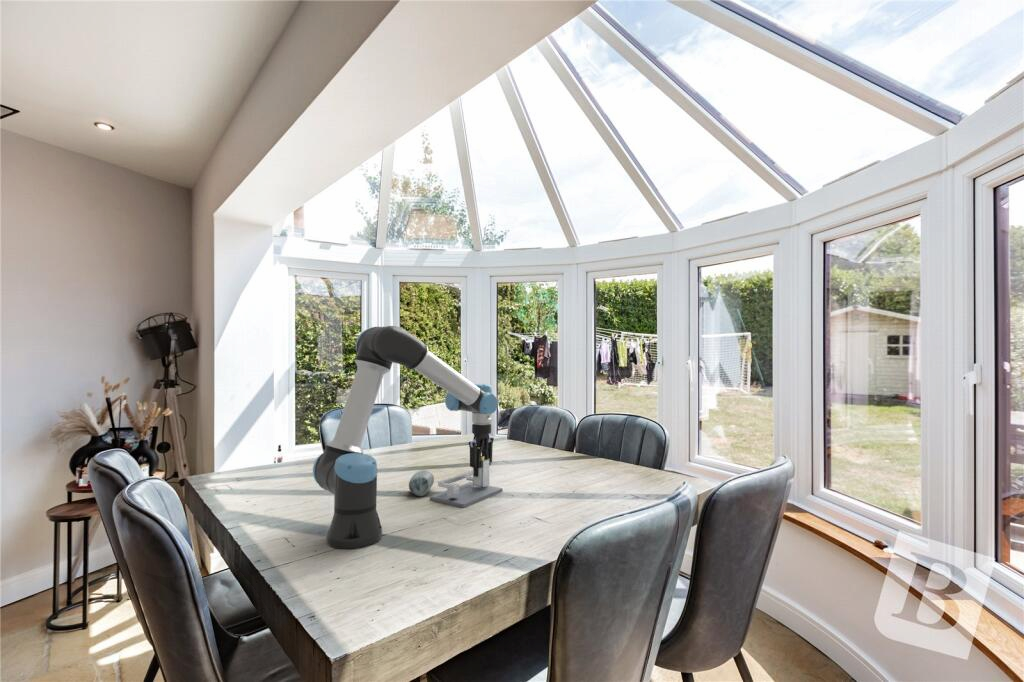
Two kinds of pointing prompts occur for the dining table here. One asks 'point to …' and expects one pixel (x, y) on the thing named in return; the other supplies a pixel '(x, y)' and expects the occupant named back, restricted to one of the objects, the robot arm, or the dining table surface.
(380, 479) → the dining table surface
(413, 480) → the grey rounded oval lump
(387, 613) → the dining table surface
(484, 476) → the post
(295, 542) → the dining table surface
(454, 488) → the dividers frame
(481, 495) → the flange plate
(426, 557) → the dining table surface
